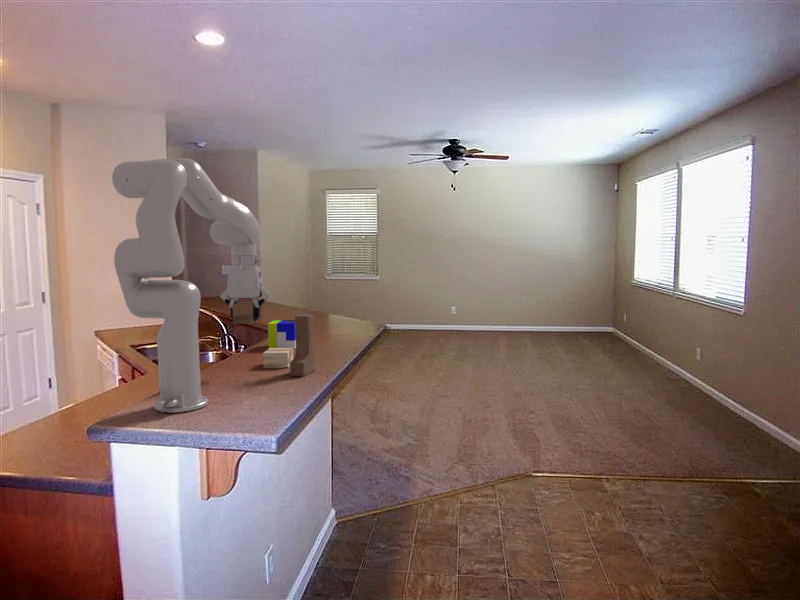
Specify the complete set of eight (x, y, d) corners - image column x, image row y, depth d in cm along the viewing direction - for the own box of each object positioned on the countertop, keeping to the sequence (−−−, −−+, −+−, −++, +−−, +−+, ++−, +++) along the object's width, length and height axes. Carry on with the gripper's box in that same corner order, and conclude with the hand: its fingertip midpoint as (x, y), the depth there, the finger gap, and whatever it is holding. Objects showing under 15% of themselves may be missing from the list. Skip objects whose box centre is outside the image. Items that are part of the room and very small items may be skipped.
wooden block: (303, 377, 167) (301, 318, 165) (290, 376, 168) (288, 317, 166) (315, 370, 176) (313, 314, 174) (302, 369, 177) (300, 314, 175)
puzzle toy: (294, 349, 212) (294, 323, 211) (268, 349, 212) (268, 323, 211) (299, 344, 222) (299, 319, 221) (275, 344, 222) (274, 320, 221)
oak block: (287, 367, 180) (287, 352, 179) (263, 367, 180) (263, 352, 180) (293, 362, 188) (293, 348, 187) (270, 362, 188) (269, 348, 188)
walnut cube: (252, 323, 169) (251, 303, 168) (232, 323, 169) (232, 303, 169) (258, 321, 175) (257, 302, 174) (239, 321, 175) (238, 302, 175)
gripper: (275, 261, 174) (276, 318, 175) (221, 262, 175) (222, 318, 176) (268, 261, 167) (269, 321, 168) (212, 262, 167) (213, 321, 168)
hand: (245, 319), depth 172 cm, fingers closed on walnut cube, 6 cm apart
